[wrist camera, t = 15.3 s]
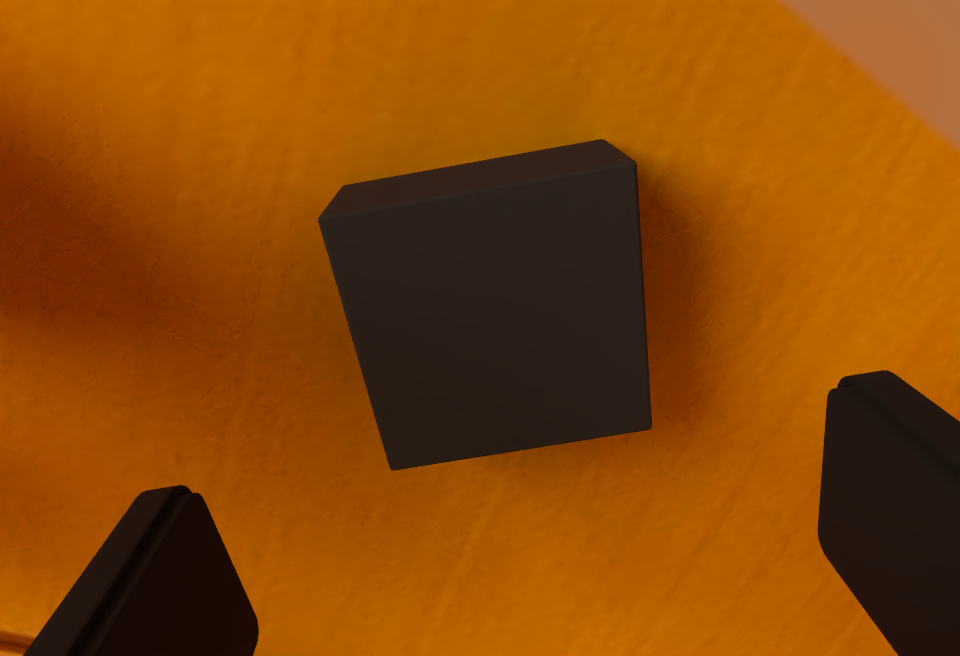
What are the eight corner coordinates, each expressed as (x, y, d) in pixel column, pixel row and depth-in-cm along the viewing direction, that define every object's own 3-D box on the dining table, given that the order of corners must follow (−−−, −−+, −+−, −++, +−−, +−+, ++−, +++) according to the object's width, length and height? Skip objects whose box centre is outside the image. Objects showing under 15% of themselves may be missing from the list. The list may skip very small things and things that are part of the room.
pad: (341, 185, 15) (315, 217, 12) (604, 138, 15) (637, 160, 12) (400, 406, 18) (390, 472, 15) (623, 370, 18) (653, 430, 15)
